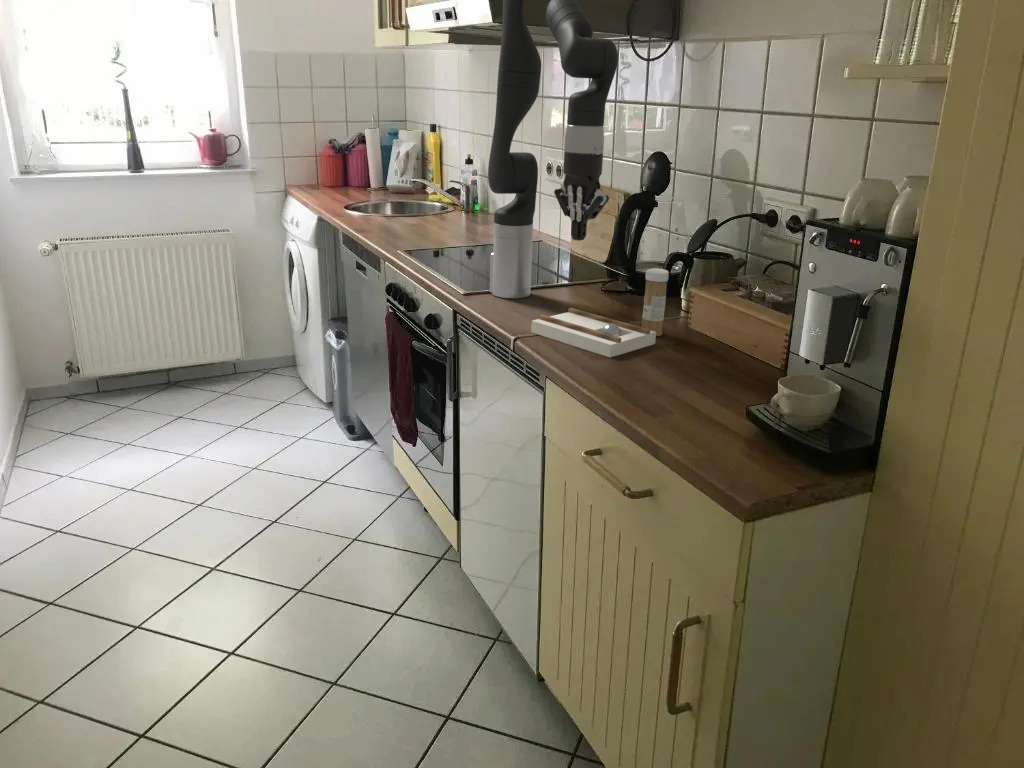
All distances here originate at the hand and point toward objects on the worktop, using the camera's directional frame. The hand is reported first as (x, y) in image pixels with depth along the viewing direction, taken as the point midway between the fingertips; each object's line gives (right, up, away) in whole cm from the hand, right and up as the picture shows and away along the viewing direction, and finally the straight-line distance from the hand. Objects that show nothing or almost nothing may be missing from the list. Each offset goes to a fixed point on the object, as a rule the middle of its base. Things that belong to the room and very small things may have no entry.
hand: (578, 239), depth 162 cm
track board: (+3, -20, +2) cm, 20 cm away
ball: (+6, -19, -2) cm, 20 cm away
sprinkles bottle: (+16, -19, +6) cm, 25 cm away
